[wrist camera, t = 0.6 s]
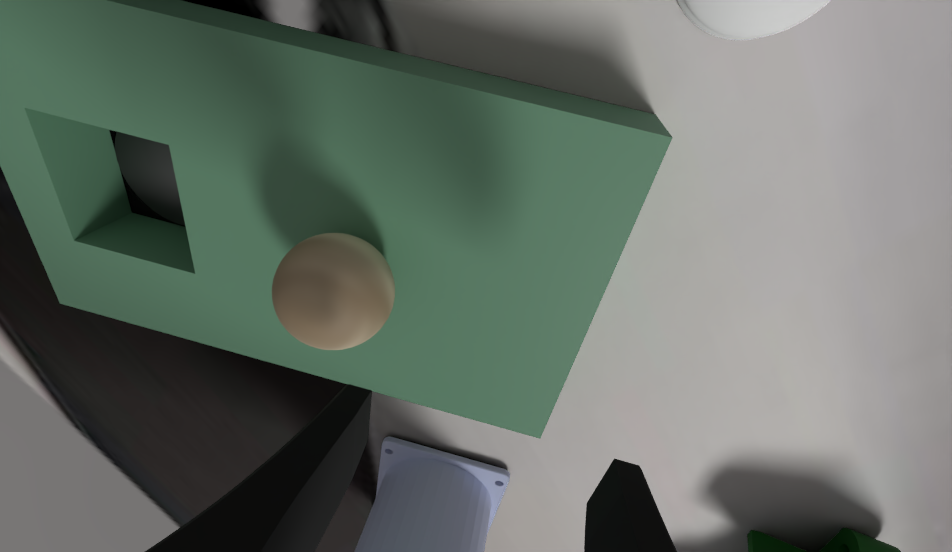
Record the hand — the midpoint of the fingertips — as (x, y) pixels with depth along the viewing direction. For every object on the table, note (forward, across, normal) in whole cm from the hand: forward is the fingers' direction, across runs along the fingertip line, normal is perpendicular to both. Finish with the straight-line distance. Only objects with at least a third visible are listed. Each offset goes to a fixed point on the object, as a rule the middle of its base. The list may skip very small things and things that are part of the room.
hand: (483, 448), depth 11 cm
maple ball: (+4, +6, 0) cm, 7 cm away
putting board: (+9, +9, 0) cm, 13 cm away
